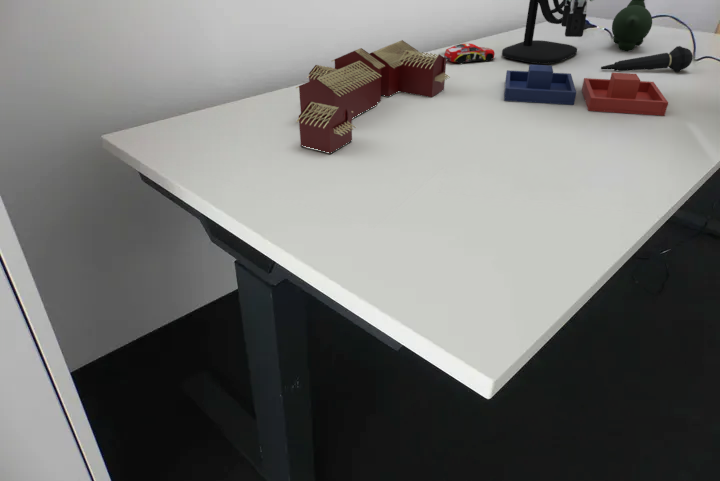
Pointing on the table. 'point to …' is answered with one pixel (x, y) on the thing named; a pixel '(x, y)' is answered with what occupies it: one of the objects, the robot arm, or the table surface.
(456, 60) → the race car
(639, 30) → the toy figurine
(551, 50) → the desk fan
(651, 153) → the table surface
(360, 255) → the table surface
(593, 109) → the red tray
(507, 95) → the navy tray
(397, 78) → the toy houses
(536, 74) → the navy block
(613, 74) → the red block
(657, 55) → the microphone
